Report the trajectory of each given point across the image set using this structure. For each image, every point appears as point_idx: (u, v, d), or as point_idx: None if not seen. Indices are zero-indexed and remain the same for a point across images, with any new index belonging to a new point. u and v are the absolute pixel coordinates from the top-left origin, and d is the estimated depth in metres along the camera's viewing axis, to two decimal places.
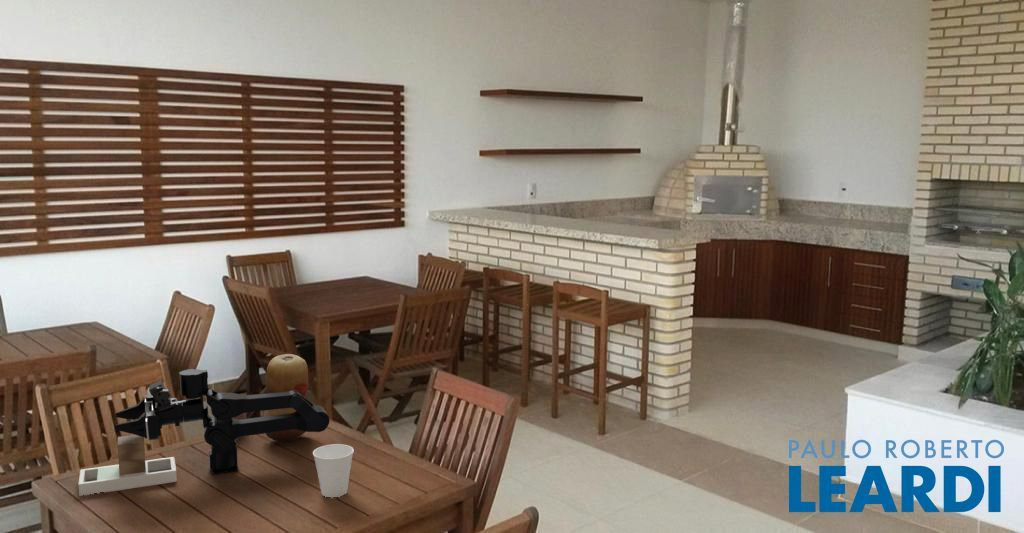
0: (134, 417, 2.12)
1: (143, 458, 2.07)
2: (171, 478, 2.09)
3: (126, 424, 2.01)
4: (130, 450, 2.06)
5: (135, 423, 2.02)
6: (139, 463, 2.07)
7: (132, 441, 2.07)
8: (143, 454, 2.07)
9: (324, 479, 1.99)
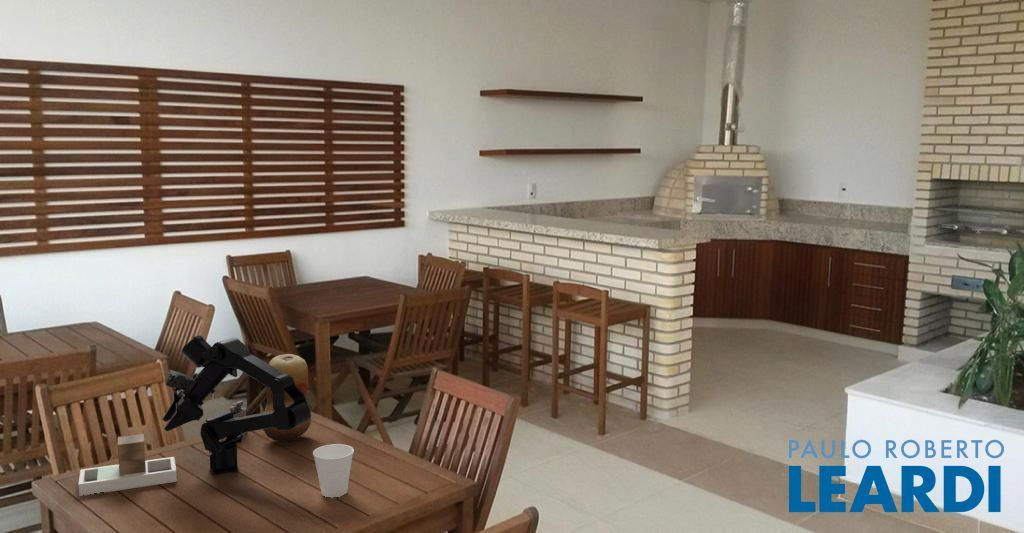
0: None
1: (143, 458, 2.07)
2: (171, 478, 2.09)
3: (171, 421, 2.07)
4: (130, 450, 2.06)
5: (176, 415, 2.07)
6: (139, 463, 2.07)
7: (132, 441, 2.07)
8: (143, 454, 2.07)
9: (324, 479, 1.99)
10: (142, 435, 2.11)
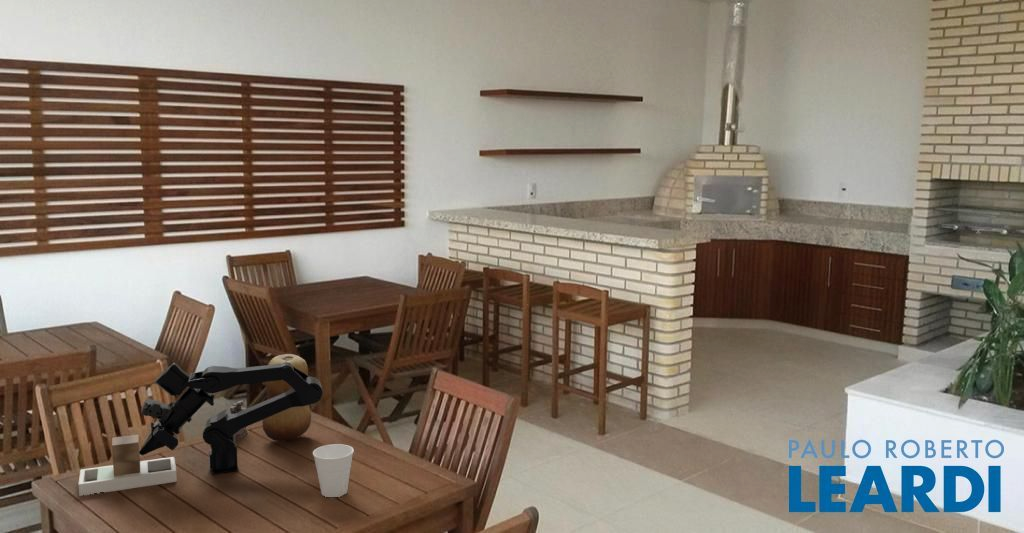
0: None
1: (138, 459, 2.07)
2: (171, 478, 2.09)
3: (146, 446, 2.09)
4: (125, 451, 2.05)
5: (151, 439, 2.09)
6: (133, 464, 2.07)
7: (127, 441, 2.06)
8: (138, 455, 2.07)
9: (324, 479, 1.99)
10: (137, 436, 2.10)
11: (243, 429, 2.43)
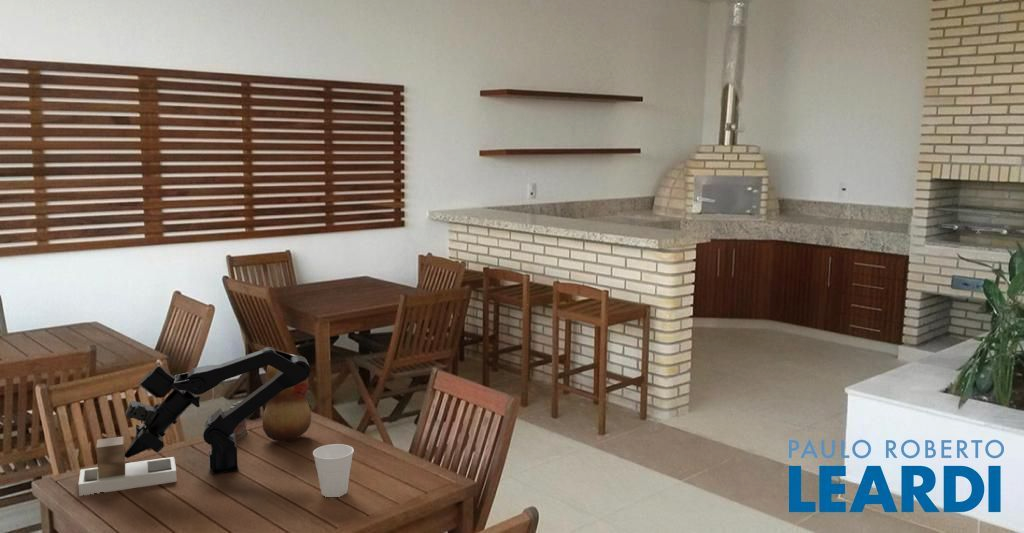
0: None
1: (122, 461, 2.05)
2: (171, 478, 2.09)
3: (131, 448, 2.08)
4: (110, 453, 2.04)
5: (136, 442, 2.07)
6: (118, 466, 2.05)
7: (111, 443, 2.05)
8: (122, 457, 2.05)
9: (324, 479, 1.99)
10: (122, 438, 2.09)
11: (243, 429, 2.43)
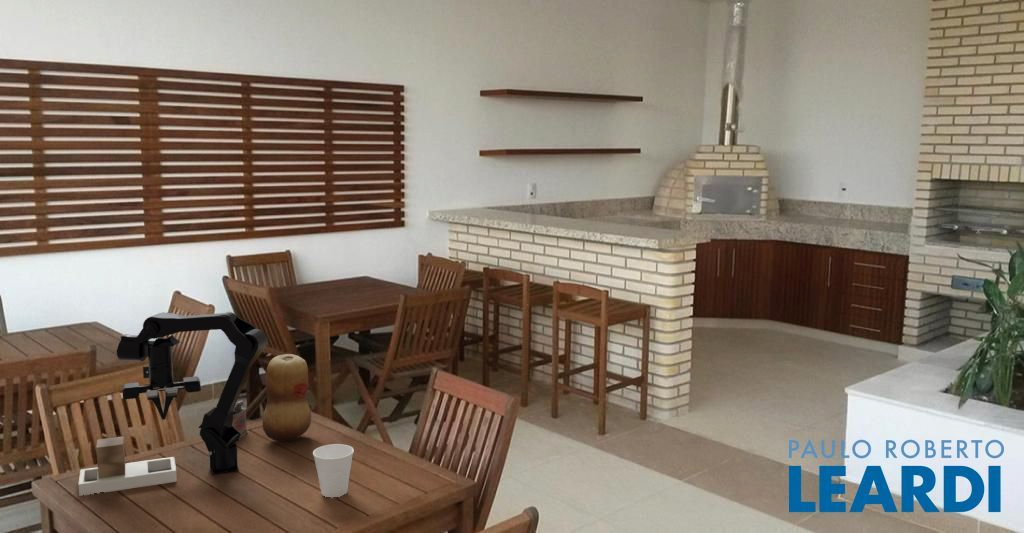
0: (165, 404, 2.16)
1: (122, 461, 2.05)
2: (171, 478, 2.09)
3: None
4: (110, 453, 2.04)
5: None
6: (118, 466, 2.05)
7: (111, 443, 2.05)
8: (122, 457, 2.05)
9: (324, 479, 1.99)
10: (122, 438, 2.09)
11: (243, 429, 2.43)
